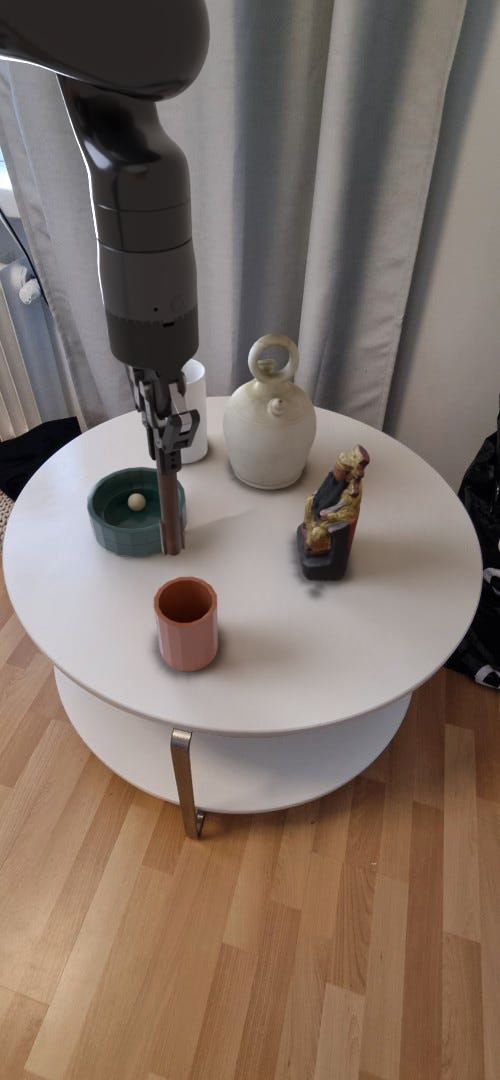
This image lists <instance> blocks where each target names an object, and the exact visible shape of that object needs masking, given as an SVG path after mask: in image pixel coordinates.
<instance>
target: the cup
mask: <svg viewBox="0 0 500 1080" xmlns="http://www.w3.org/2000/svg"><path fill="white" fill-rule="evenodd" d="M182 371H183V372H184V374H185V377H186V383H187V391H186V393H185V402H186V407H187V409H188V411H189V410H193V409H197V410H198V412H199V414H200V423H199V426H198V429H197V431H196V434H195V437H194V439H193V442H192V445H191V447H188V448H183V449H181V462H182V464H191V463H192V464H193V463H195V462H198V461H200V460H202V459H203V458H204V457H205V456H206V454H207V453H208V447H209V446H208V422H207V421H208V419H207V418H208V417H207V416H208V415H207V380H206V379H207V378H206V368H205V366H204V365H203V364H202V363H201V362H199V361H198V360H195V359H193V358H191V359H190V360H189V361H188V362H187V363H186V364H185V365H184V366H183V368H182Z"/></svg>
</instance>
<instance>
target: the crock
mask: <svg viewBox="0 0 500 1080" xmlns="http://www.w3.org/2000/svg"><path fill="white" fill-rule="evenodd" d="M153 613H154V619H155V626H156V630H157V631H156V633H157V640H158V647H159V651H160V654H161V658H162V659H163V661H164V662H165V663H166V664H167V665H168V666H169V667H171V668H172V669H174V670H177V671H180V672H194V671H198V670H202V669H203V668H206V667H207V666H208V665H209V664H211V662H212V661H213V660H214V659H215V657H216V656H217V652H218V650H219V649H218V648H219V633H218V632H219V626H218V625H219V623H218V621H219V620H218V619H219V618H218V617H219V616H218V595H217V593H216V591H215V589H214V587H213V585H212V584H210V583H208V582H207V581H205V580H204V579H202V578H198V577H195V576H178V577H175V578H172V579H170V580H168V581H166V582H165V583H163V585H161V586H160V587H159V588H158V589H157V592H156V593H155V595H154V597H153Z"/></svg>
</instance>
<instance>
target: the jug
mask: <svg viewBox="0 0 500 1080" xmlns="http://www.w3.org/2000/svg"><path fill="white" fill-rule="evenodd" d="M273 346H279V347H281V348H284V349H285V350H286V351H287V352H288V354H289V357H288V358H289V359H288V362H287V364H286V366H285V367H283V368H282V369H280V370H278V371H274V369H275V368H274V366H275V363H276V360H275V359H274V358H272V359H271V358H268V359H260V356H261V355H262V353H263V352H264V351H265V350H266V349H267V350H268V348H270V347H273ZM247 363H248V368H249V371H250V373H251V374H252V376H253V379H251V380H250V381H247V382H245V383H244V384H242V385H240V386H239V387H238V388H237V389H236V390H235V391H234V392H233V393H232V394H231V396H230V398H229V399H228V401H227V403H226V405H225V409H224V411H223V416H222V430H223V436H224V441H225V445H226V450H227V454H228V459H229V462H230V464H231V465H230V466H231V467H232V470H233V472H234V474H235V476H236V477H237V478H238V479H239V480H240V481H241V482H242V483H243V484H246V485H248V486H249V487H252V488H255V489H259V490H262V491H275V490H282V489H285V488H287V487H290V486H292V485H293V484H295V483H296V482H297V481H298V480H299V478H300V477H301V475H302V473H303V471H304V468H305V466H306V464H307V461H308V458H309V456H310V453H311V451H312V447H313V444H314V441H315V438H316V434H317V415H316V409H315V406H314V404H313V402H312V400H311V398H310V396H309V394H307V392H306V391H305V390H304V389H302V387H300V386H299V385H297V384H295V383H294V382H292V381H290V379H291V378H293V377H294V375H295V374H296V372H297V371H298V368H299V365H300V353H299V349H298V347H297V345H296V343H295V342H294V341H293V340H292V339H291V338H289V337H288V336H287V335H285V334H283V333H282V334H281V333H278V332H273V333H267V334H265V335H263V336H261V337H260V338H259V339H257V341H255V342H254V343H253V345H252V346H251V348H250V350H249V353H248V358H247Z"/></svg>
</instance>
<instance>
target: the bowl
mask: <svg viewBox="0 0 500 1080" xmlns="http://www.w3.org/2000/svg"><path fill="white" fill-rule="evenodd" d="M177 482H178V497H179V512H180V514H181V516H182V518H183V525H184V532H185V530H186V527H187V525H188V518H187V515H188V514H187V503H186V501H187V500H186V493H185V488H184V487H183V485H182V484H181V482H180V481H179V480H178V479H177ZM133 494H141V495H142V496H143V497H144V498H145V500H146V504H145V507H144V508H143V509H142V510H140V511H134V510H132V509H131V508H130V507H129V505H128V499H129V497H130V496H131V495H133ZM86 510H87V514H88V518H89V522H90V526H91V530H92V534H93V536H94V538H95V540H96V542H97V543H98V544H99V545H100V546H102V548H103V549H105V550H106V551H108V552H110V553H113V554H115V555H116V556H121V557H128V558H140V557H149V556H153V555H155V554H158V553H163V552H162V546H161V537H160V527H159V521H160V520H162V516H161V506H160V496H159V486H158V476H157V467H156V468H155V467H146V466H134V467H127V468H122V469H120V470H115V471H113V472H111V473H108V475H105V476H104V477H101V479H99V480H98V481H97V482H96V483H95V484H94V485H93V486H92V487H91V489H90V491H89V493H88V496H87V499H86Z"/></svg>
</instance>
